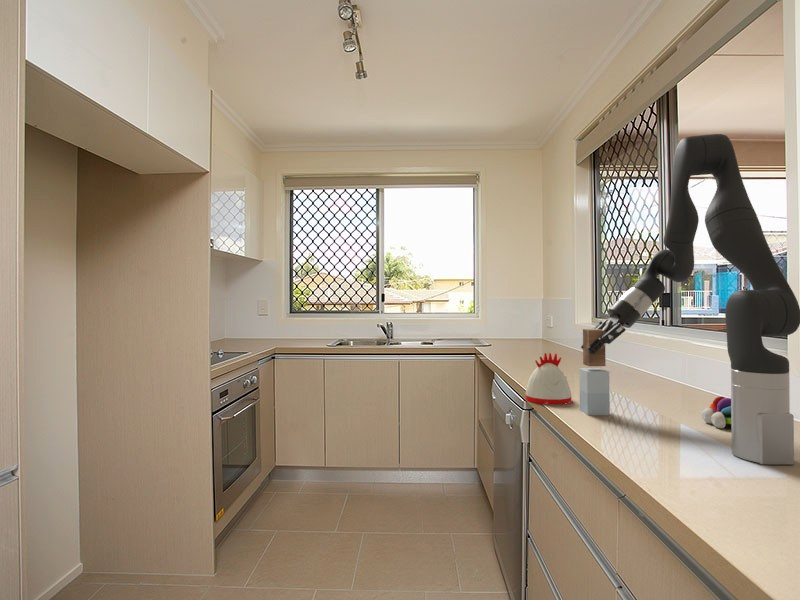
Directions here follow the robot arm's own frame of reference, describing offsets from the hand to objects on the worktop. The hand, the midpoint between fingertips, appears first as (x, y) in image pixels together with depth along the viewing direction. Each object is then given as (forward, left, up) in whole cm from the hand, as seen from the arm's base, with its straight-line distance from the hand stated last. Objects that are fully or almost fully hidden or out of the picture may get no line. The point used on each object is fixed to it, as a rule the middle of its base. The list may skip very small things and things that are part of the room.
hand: (587, 350), depth 132 cm
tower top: (0, -2, -11) cm, 12 cm away
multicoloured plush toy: (-14, -29, -18) cm, 37 cm away
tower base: (0, -2, -17) cm, 17 cm away
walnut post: (0, -2, -4) cm, 5 cm away
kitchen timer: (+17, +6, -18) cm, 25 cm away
